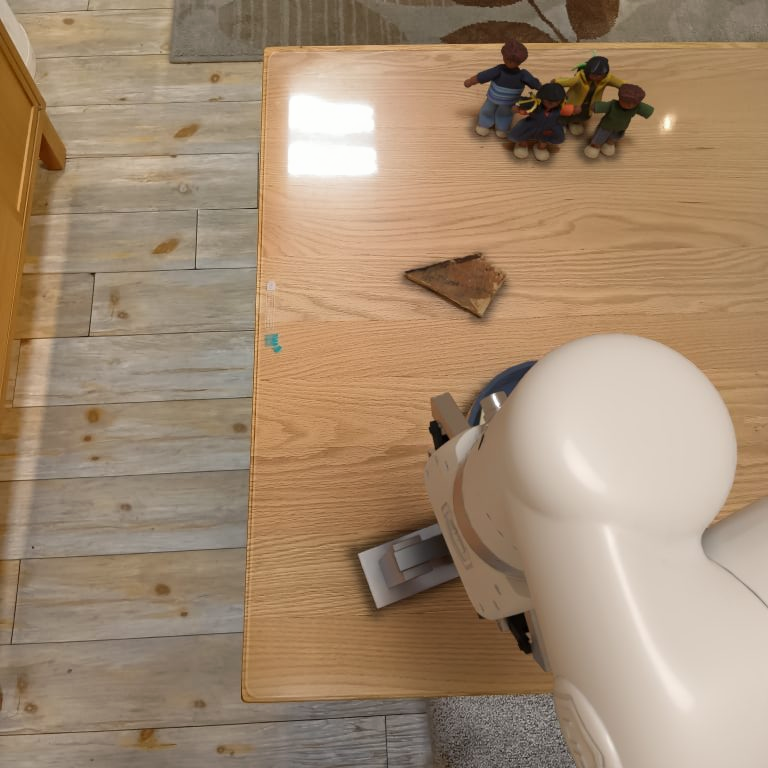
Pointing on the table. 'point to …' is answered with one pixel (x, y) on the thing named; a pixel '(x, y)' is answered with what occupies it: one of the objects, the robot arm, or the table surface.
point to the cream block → (480, 417)
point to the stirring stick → (420, 553)
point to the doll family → (555, 104)
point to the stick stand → (399, 586)
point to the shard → (462, 280)
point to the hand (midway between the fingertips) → (470, 539)
